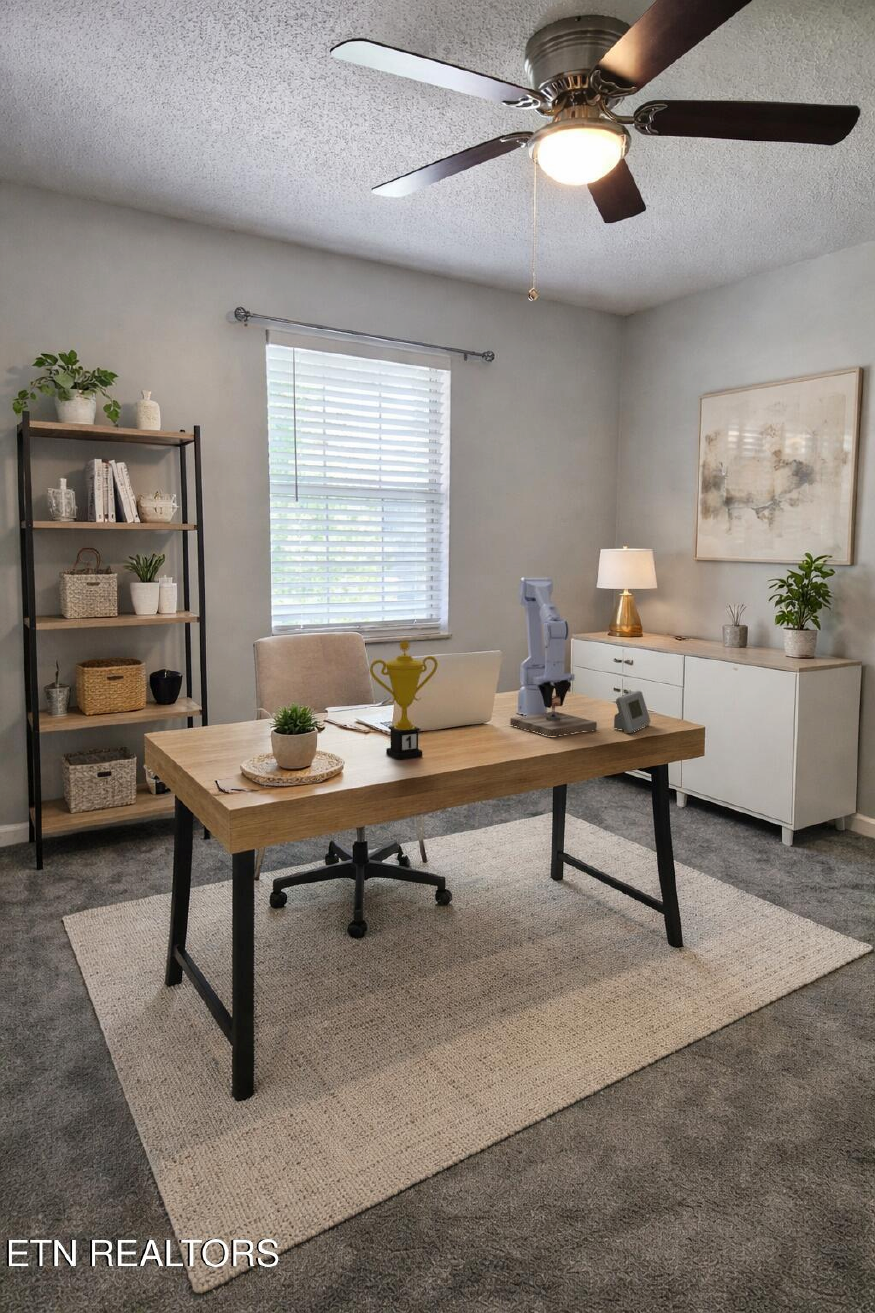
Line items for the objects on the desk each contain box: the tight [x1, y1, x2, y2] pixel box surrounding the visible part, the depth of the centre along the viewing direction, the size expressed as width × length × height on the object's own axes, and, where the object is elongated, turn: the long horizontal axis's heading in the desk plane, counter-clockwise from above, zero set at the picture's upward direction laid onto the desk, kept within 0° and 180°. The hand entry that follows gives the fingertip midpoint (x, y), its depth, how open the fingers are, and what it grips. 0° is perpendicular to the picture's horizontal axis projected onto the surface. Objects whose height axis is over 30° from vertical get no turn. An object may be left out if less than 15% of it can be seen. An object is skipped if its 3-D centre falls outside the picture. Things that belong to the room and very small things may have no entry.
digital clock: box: [613, 690, 651, 734], centre depth 239 cm, size 16×9×11 cm, turn 133°
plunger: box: [551, 695, 561, 717], centre depth 239 cm, size 4×4×6 cm
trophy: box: [369, 639, 438, 761], centre depth 205 cm, size 19×10×30 cm, turn 120°
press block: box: [509, 711, 598, 736], centre depth 239 cm, size 18×18×4 cm
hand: (553, 706), depth 239 cm, fingers closed on plunger, 4 cm apart
